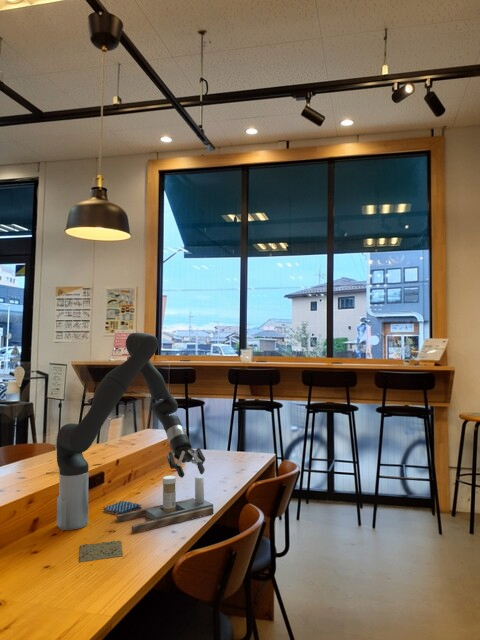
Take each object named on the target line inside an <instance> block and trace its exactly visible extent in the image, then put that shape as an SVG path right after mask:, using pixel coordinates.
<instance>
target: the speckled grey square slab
mask: <svg viewBox="0 0 480 640" xmlns="http://www.w3.org/2000/svg"><path fill="white" fill-rule="evenodd" d="M122 546H123V544H122V540H112V541H105V542H104V541H103V542H97V543H89V544H88V543H86V544H80V546H79V552H78V553H79V556H78V563H86V562H93V561H99V560H101V561H102V560H107V559H115V558H123V557H124V553H123V547H122Z"/></svg>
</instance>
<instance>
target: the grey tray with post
mask: <svg viewBox="0 0 480 640" xmlns="http://www.w3.org/2000/svg"><path fill="white" fill-rule="evenodd" d="M204 478H205V477H204V476H202V475H200V476H199V475H198V476H195V477H194V500H190V501H185V502H181V503H176V507H175V512H173V513H169V514H168V513H166V512H165V511H163V507H158V508H154V509H149V510H146V516H145V517H147V518H149V519H150V521H152V520H157V519H161V518H165V517H169V516H173V515H178V514H182V513H186V512H190V511H194V510H199V509H203V508H207V507H213V508H214V503H211V502H210V501H207V500H205V479H204Z"/></svg>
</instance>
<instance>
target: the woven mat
mask: <svg viewBox="0 0 480 640" xmlns="http://www.w3.org/2000/svg"><path fill="white" fill-rule="evenodd" d="M137 509H138V510H141V509H143V508H142V504H139V503H135V502H131V501H127V500H126V501H125V500H122V501H121V500H120V501H119V502H115V503H113V504H110V505H107V506H104V507H103V508H102V510H103V511H102V513H107V514H111V515H115V516H117V515H119V514H123V513H128V512H132V511H135V510H136V511H137Z"/></svg>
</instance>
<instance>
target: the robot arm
mask: <svg viewBox="0 0 480 640" xmlns="http://www.w3.org/2000/svg"><path fill="white" fill-rule="evenodd" d="M158 347H159V341H158V338H157V337H156V336H155V335H154V334H152V333H145V332H132V333H130V334H128V335H127V338H126V340H125V348H126V351H127V353H128V355H129V358H128V359H126V361H124V362H123V363H120V364H119V365H117V366H115V367H114V368H113V369H112V370H110V371H109V372H108V373H107V374H105V375H104V377H103V378H102V380H101V381H100V382H99V384H98V385H97V387H96V389H95V390H94V394H93V398H92V402H91V406H90V408H89V410H88V412H87V413H86V414H85V415H84V417H83V418H82V419H81V421H80V422H79V423H72V422H70V423H69V422H68V423H66V424H64V425H62V426H61V427H60V429H59V430H58V432H57V436H56V464H57V467H58V471H59V473H58V474H59V475H58V476H59V480H58V483H59V484H58V487H59V488H58V493H59V494H58V495H57V497H56V498H57V499H56V527H58V528H59V529H60V530H61V531H72V530H73V531H74V530H77V529H81V528H84V527H86V526H87V525H89V475H90V474H89V472H90V471H89V468H90V467H89V463H88V461H87V460H86V458H85V457H84V454H83V453H84V452H86V451H87V450H89V449H90V448H91V446H92V444H93V443H94V442H95V439H96V438H97V436H98V435H99V432H100V430H101V429H102V427H103V425H104V423H105V422H106V421H107V419H108V417H109V416H110V414H111V413H112V411H113V410H114V409H115V407H116V405H117V404H118V403H119V402H120V401H121V399H122V397H123V396H124V395H125V392H127V390H128V388H129V387H130V385H131V384H132V383H133V382H134V380H135V378H136V377H137V376H138V374H139V373H140V375H141V376H142V378H143V379H144V381H145V384H146V386H147V389H148V391H149V394H150V396H151V398H152V399H153V400H155V402H154V403H153V404H152V406H151V410H152V413H153V415H154V417H155V418H156V419H157V420H158V421H159V422H160V423H161V425H162V427H163V429H164V432H165V434H166V438H167V441H168V443H169V446H170V448H171V450H172V451H169V452H168V454H166V455H167V456H166V459H167V461H168V462H167V463H168V466H169V468H170V470H173V469H175V471H176V472H177V475H178V476H179V477H180V479H181V478H182V479H183V478H184V476H185V472H184V470H183V468H182V466H181V464H185V463H192V464H195V465H196V466H197V469H198V471H199V474H200V475H203V474H204V473H205V467H204V465H203V464H205V462H206V457H205V455H204V454H203V452H202V450H201V448H200V447H197V448H196V449H194V448H192V444H191V441H190V439H189V436H188V435H187V432H186V430H185V428H184V427H183V424H182V422H181V420H180V418H179V416H178V415H177V414H174V413H176V412H177V411H178V408H179V405H178V404H179V403H178V402H177V400H176V398H175V397H174V396H173V395H172V394H171V393H170V391H169V389H168V388H167V385H166V382H165V379H164V377H163V375H162V373H160V372H159V370H158V369H157V367H155V365H154V364H153V363H152V362H151V359H152V357H153V356H154V355H155V353H156V351H157V349H158ZM157 400H158V401H157ZM175 459H176V461H175Z"/></svg>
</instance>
